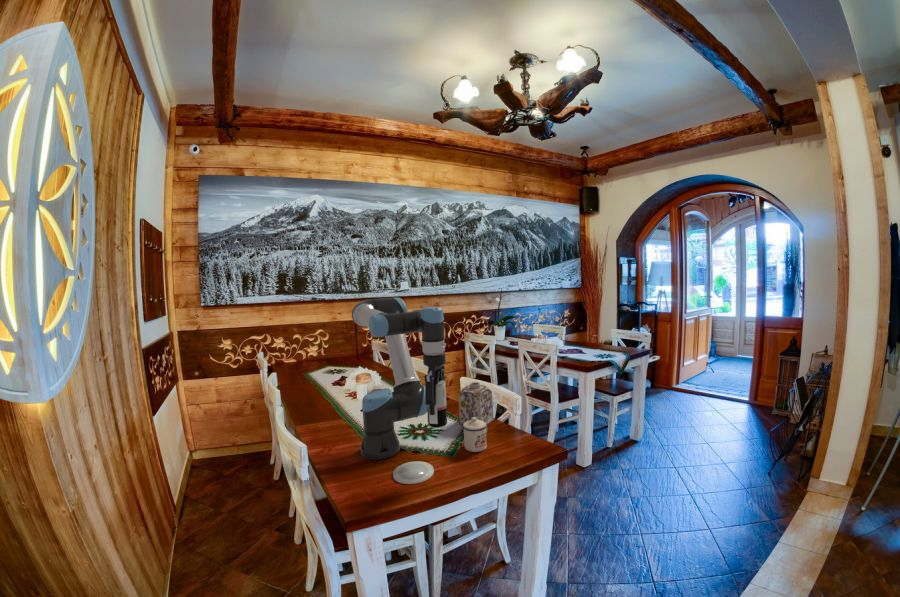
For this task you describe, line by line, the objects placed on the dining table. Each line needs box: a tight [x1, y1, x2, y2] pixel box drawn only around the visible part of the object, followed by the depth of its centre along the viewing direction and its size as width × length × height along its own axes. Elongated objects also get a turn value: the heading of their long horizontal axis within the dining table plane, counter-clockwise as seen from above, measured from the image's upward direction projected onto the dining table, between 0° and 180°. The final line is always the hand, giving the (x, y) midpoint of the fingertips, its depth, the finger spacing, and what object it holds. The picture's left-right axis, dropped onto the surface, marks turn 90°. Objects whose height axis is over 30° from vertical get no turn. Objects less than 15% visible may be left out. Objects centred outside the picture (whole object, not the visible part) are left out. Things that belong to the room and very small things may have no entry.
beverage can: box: [426, 380, 448, 429], centre depth 127 cm, size 6×7×15 cm
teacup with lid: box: [462, 417, 488, 453], centre depth 146 cm, size 12×9×12 cm
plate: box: [392, 460, 435, 485], centre depth 128 cm, size 14×14×1 cm
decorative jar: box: [458, 381, 494, 426], centre depth 170 cm, size 12×12×18 cm
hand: (437, 418), depth 128 cm, fingers closed on beverage can, 6 cm apart
